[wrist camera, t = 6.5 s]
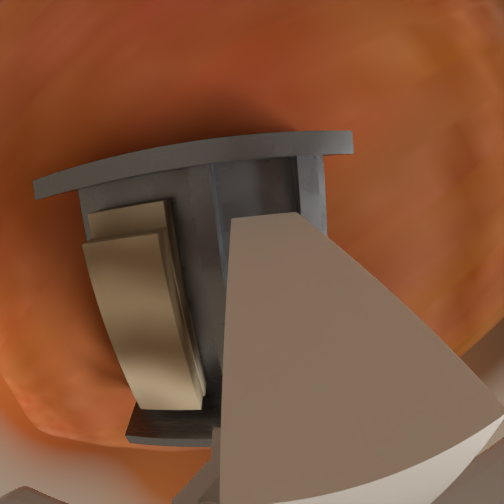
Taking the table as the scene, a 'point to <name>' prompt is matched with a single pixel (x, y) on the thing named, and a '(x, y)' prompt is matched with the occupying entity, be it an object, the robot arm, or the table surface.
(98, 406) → the table surface
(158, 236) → the offcut stack
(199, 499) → the robot arm
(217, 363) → the rack
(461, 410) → the cream slab
